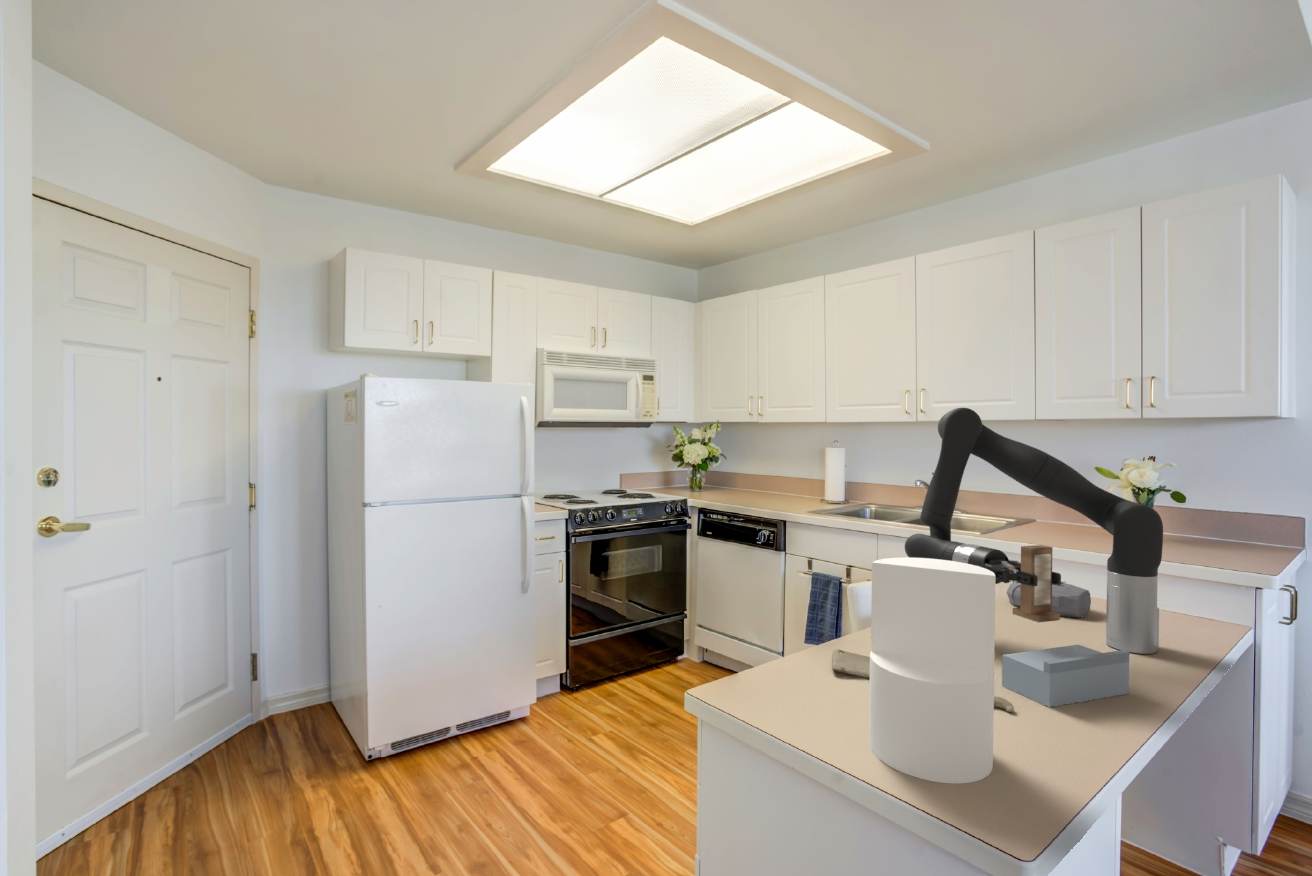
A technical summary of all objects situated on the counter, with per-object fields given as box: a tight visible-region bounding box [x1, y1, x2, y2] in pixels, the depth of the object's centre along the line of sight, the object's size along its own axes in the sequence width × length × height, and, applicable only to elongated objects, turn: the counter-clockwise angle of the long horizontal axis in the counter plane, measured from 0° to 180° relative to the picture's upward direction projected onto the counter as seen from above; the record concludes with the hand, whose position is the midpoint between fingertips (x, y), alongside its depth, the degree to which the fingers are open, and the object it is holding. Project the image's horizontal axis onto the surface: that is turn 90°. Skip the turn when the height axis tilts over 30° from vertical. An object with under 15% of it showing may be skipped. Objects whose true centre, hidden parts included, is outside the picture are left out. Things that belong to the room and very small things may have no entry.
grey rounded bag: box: [1006, 581, 1092, 618], centre depth 175 cm, size 15×8×20 cm
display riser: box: [1001, 644, 1130, 708], centre depth 119 cm, size 20×10×8 cm, turn 109°
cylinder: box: [868, 556, 996, 784], centre depth 95 cm, size 17×17×28 cm
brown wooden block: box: [1012, 544, 1061, 623], centre depth 126 cm, size 6×6×14 cm
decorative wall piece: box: [831, 648, 1015, 713], centre depth 126 cm, size 30×3×30 cm
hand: (1047, 580), depth 124 cm, fingers closed on brown wooden block, 5 cm apart
